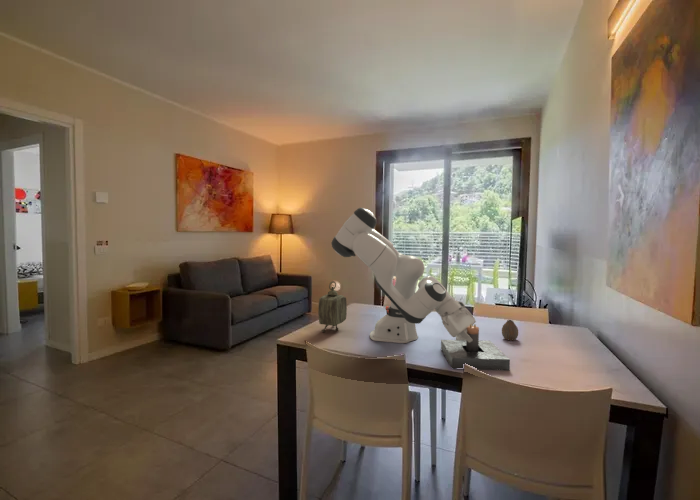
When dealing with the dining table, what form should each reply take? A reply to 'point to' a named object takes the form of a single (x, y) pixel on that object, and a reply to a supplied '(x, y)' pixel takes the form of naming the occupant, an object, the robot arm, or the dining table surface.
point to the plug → (474, 333)
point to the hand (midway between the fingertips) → (474, 339)
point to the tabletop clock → (332, 308)
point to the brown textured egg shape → (510, 330)
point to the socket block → (475, 355)
